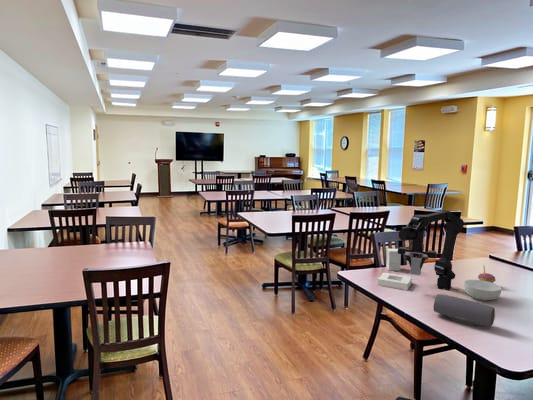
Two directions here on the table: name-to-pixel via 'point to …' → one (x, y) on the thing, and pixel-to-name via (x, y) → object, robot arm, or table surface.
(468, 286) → the cereal bowl
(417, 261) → the dark grey square post
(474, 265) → the table surface
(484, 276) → the cupcake
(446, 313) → the bluetooth speaker
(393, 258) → the white rectangular block
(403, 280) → the square frame
